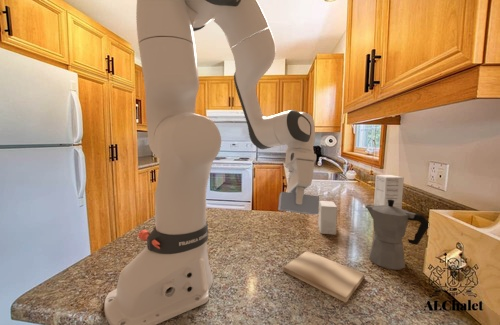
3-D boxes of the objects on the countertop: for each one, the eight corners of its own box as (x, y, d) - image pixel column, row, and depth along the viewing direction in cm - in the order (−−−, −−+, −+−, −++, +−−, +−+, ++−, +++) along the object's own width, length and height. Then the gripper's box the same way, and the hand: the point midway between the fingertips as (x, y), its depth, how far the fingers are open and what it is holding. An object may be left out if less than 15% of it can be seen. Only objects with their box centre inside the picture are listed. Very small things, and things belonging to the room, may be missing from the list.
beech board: (345, 302, 46) (346, 297, 46) (283, 271, 57) (283, 266, 57) (364, 278, 55) (364, 273, 55) (306, 254, 66) (306, 250, 66)
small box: (336, 235, 80) (337, 207, 79) (320, 233, 81) (321, 206, 80) (332, 227, 88) (333, 201, 87) (317, 225, 89) (319, 200, 88)
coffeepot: (355, 256, 65) (359, 197, 64) (369, 247, 71) (373, 192, 69) (418, 283, 53) (425, 210, 52) (429, 269, 59) (435, 204, 57)
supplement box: (402, 210, 111) (405, 177, 109) (384, 210, 111) (386, 177, 109) (389, 205, 121) (392, 174, 119) (373, 204, 120) (375, 174, 119)
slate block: (313, 214, 68) (278, 210, 68) (314, 198, 69) (279, 194, 70) (318, 213, 63) (280, 208, 64) (319, 196, 65) (281, 191, 65)
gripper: (284, 169, 80) (281, 207, 76) (295, 150, 61) (291, 200, 57) (301, 171, 80) (299, 209, 76) (318, 152, 60) (316, 203, 57)
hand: (296, 205), depth 66 cm, fingers closed on slate block, 5 cm apart
